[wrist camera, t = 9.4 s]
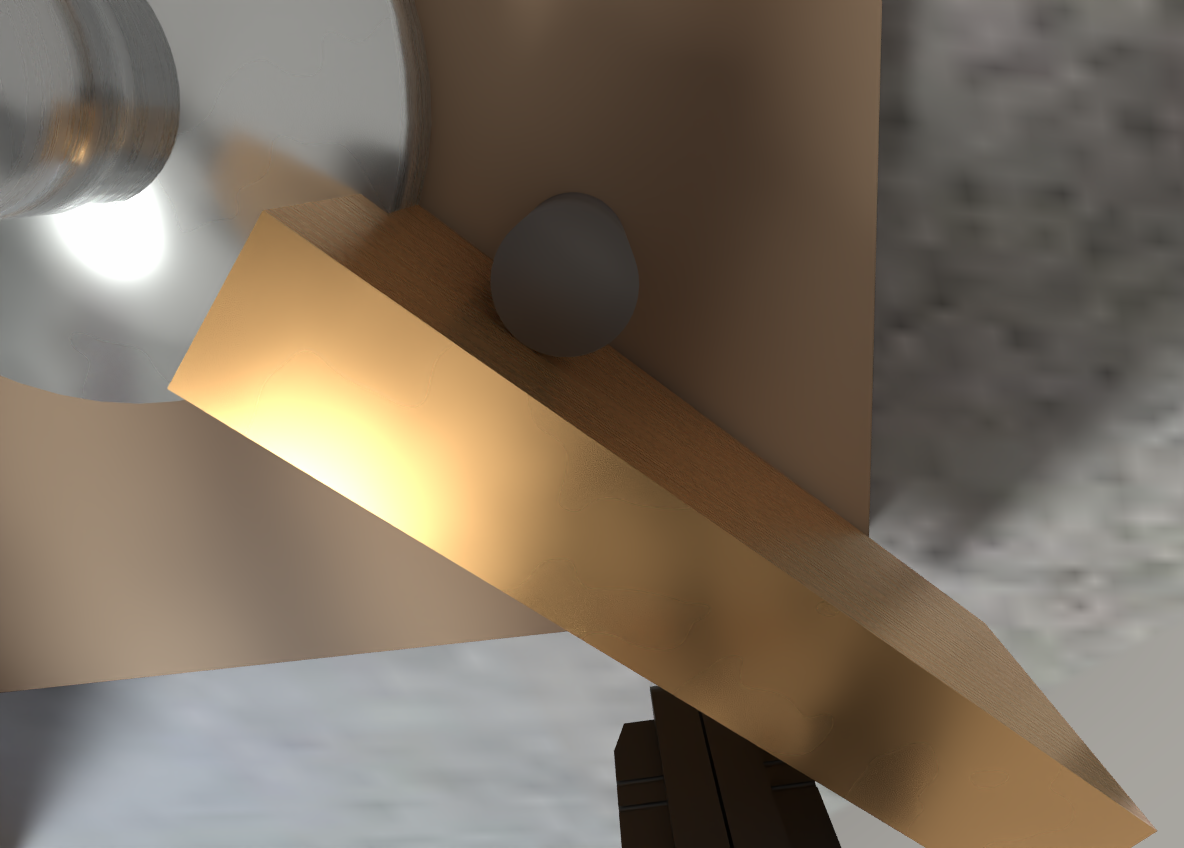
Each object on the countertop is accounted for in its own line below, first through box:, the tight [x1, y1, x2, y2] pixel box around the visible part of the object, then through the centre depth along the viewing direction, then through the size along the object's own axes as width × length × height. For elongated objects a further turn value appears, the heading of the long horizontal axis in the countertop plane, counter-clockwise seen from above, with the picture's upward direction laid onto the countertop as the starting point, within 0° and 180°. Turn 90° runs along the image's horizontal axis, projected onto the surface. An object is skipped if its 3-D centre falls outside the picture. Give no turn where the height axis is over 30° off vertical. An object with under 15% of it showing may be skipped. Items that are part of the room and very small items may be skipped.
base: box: [0, 0, 882, 693], centre depth 8 cm, size 20×20×4 cm
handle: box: [0, 0, 1157, 848], centre depth 8 cm, size 8×20×4 cm, turn 53°
